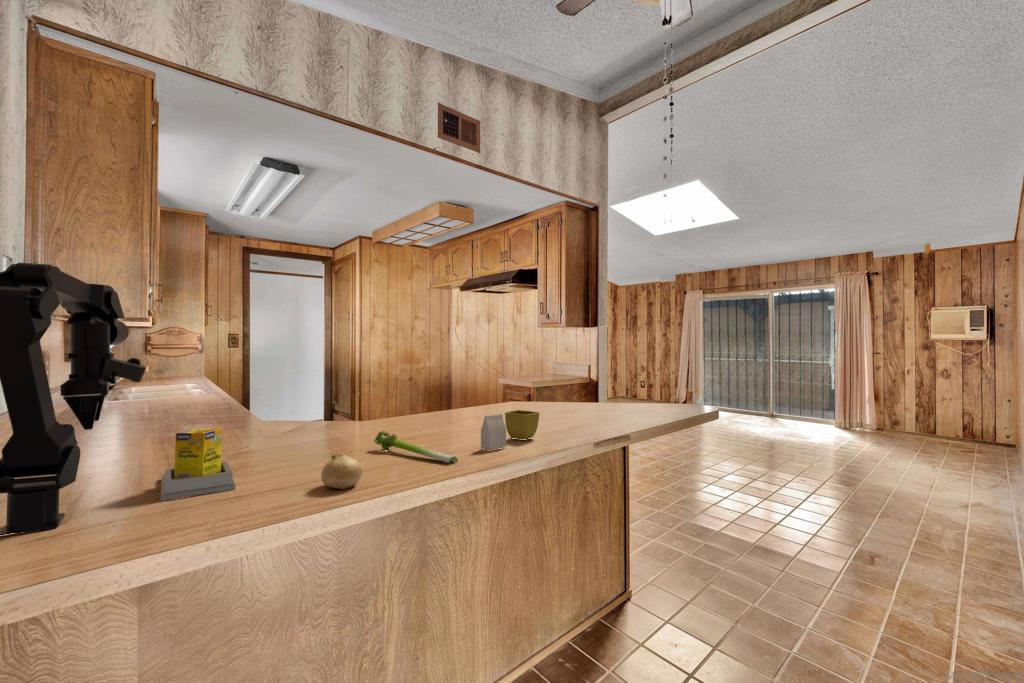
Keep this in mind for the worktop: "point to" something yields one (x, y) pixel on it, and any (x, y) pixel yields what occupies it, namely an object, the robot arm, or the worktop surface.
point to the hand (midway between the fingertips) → (92, 424)
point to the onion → (341, 472)
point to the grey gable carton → (493, 432)
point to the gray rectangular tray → (196, 483)
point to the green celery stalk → (411, 447)
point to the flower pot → (521, 423)
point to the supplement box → (198, 452)
